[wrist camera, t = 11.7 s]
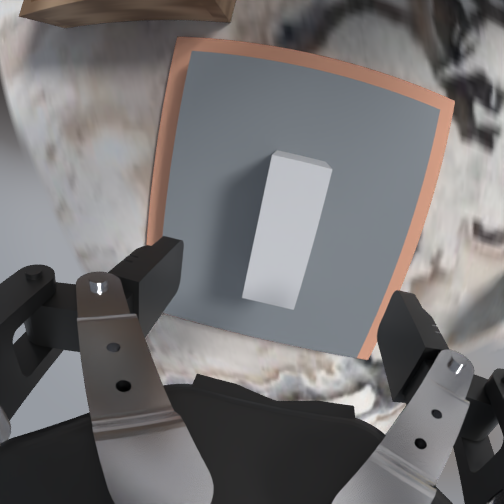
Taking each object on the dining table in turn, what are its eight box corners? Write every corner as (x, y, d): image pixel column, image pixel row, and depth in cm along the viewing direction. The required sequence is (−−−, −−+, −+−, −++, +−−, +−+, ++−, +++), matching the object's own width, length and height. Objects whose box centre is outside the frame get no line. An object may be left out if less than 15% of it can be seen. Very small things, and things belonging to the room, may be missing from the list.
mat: (452, 101, 18) (454, 101, 17) (367, 357, 26) (367, 359, 26) (179, 37, 19) (177, 36, 19) (145, 305, 27) (143, 307, 27)
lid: (428, 110, 18) (469, 107, 13) (353, 343, 25) (363, 393, 20) (200, 56, 19) (168, 35, 13) (165, 299, 26) (135, 340, 21)
